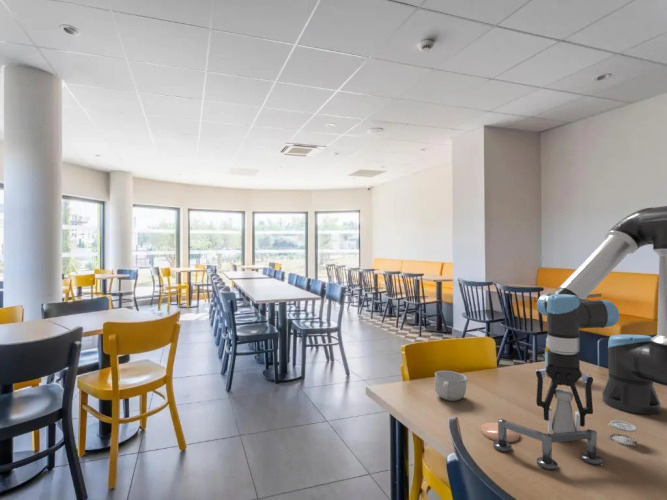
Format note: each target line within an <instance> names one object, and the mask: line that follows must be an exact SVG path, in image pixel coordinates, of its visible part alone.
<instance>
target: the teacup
mask: <svg viewBox="0 0 667 500" xmlns="http://www.w3.org/2000/svg"><path fill="white" fill-rule="evenodd" d="M467 380H468V377H467V376H466V375H464V374H462V373H459V372H456V371H452V370H438V371H435V372H434V390H435V392H436V393H437V395H438V396H439V398H441V399H444V400H446V401H450V402H458V401H459V400H461V399H462V398H465V395H466V392H467Z"/></svg>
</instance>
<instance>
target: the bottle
mask: <svg viewBox="0 0 667 500" xmlns="http://www.w3.org/2000/svg"><path fill="white" fill-rule="evenodd" d="M548 350H549V348H548V337H546V338H545V348H544V369H546V367H547V365H548ZM545 376H548V377H549V378H550V376H549V375H548V374H547V373H546V374H545Z"/></svg>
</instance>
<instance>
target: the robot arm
mask: <svg viewBox="0 0 667 500" xmlns="http://www.w3.org/2000/svg"><path fill="white" fill-rule="evenodd" d="M647 245H652V251H653V252H654V253H657V255H658V256H659V258H658V259H659V262H658V298H657V302H658V303H657V328H656V329H657V333H656V335H655V336H653V337H652V336H651V335H645V334H631V333H630V334H621V333H620V334H614V335H611V336H610V337H609V338H608V346H607V354H608V355H607V359H608V360H607V363H608V366H607V367H608V379H607V381H606V383H605V386H604V388H603V391H602V394H601V395H602V401H603V402H604V404H606V405H608V406H610V407H612V408H615V409H618V410H621V411H624V412H627V413H632V414H633V413H634V414H640V415H656V414H659V413H661V410H662V407H661V406H662V405H661V401H660V398H659V396H658V394H657V391H656V389H655V386H654V383H656V384H659V385H663V386H665V387H667V205H665V206H663V205H662V206H656V207H647V208H641V209H639V210H636V211H634V212H632V213H630V214H629V215H627V216H625V217H624V218H622V219H621V220H619V221H618V222H617V223H616V224H615V225H613V227H612V228H610V229H609V230H608V232H606V233H605V235H604V240H603V241H602V242H601V243H600V245H598V246H597V248H596V249H595V250H593V252H592V253H591V254H590V255H589V256H588V257H587V258H585V260H584V261H583V262H582V263H580V265H579V266H578V267H577V268H576V269H575V270H574V271H573V272H572V273H571V274H570V275H569V276H568V277H567V278H566V280H564V281H563V282H562V284H561V285H560V286H558V287H557V288H556V289H555V290H554V292H553V293H551V292H550V293H544V294H541V295H540V296H539V297H538V299H537V301H536V308H537V311H538V312H539V313H540V314H541V315H542V316H544V317H546V320H547V321H546V324H547V338H548V348H549V350H548V365H547V367H546V369H545V368H543V369H539V368H536V369H535V374H536V378H537V380H536V381H537V384H536V399H535V400H536V401H535V402H536V405H537V407H541V408H542V409H543V419H544V421H548V422H547V423H548V424H547V426H548V430H547V431H548V434H552V433H553V430H552V422H553V410H552V406H551V404H552V401H553V398H554V397H555V395H554V393H555V390H557V389H558V386H566V387H570V390H571V393H572V395H573V398H574V400H575V404H576V406H577V409H578V411H577V410H575V411H574V412H575V417H574V422H575V427H576V431H581V427H583V428H584V427H585V425H586V422H585V421H586V415H593V414H594V407H593V406H594V405H593V395H592V385H593V383H594V378H593V376H592V374H585V373H583V372H582V371H581V368H580V366H581V365H580V354H579V353H578V352H580V329H598V328H601V329H603V328H607V327H608V328H609V327H612V326H614V325H616V324H617V323H618V321H619V319H620V313H619V312H620V311H619V309H618V307H617V306H616V304H615V303H613V302H612V301H609V300H605V299H603V300H602V299H596V300H594V299H593V300H592V299H586V298H588V296H590V294H591V293H592V292H593V291H594V290H595V289H596V288H597V287H598V286H599V285H600V283H602V282H603V280H605V278H607V276H608V275H609V274H611V272H612V271H613V270H614V269H615V268H616V267H618V265H619V264H620V263H621V262H622V261H623V260H624V259H625V258H626V257H627V255H630V254H634V253H635V252H636V251H637V250H639V249H640V248H642V247H644V246H647ZM546 373H547V374H548V375H549V376H550V377H549V376H548V377H549V378H550V379H551V381H550V384H549V388H548V390H547V394H546V395H545V397H544V398H545V399H544V400H543V390H544V389H543V388H544V386H543V385H544V378H546ZM581 378H582V379H581ZM580 379H581V380H582V382H583V383H584V396H585V397H584V398H585V407H584V406H583V404H582V401H581V398H580V394H579V391H578V390H577V387H576V383H577V382H578V381H579V380H580Z"/></svg>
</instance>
